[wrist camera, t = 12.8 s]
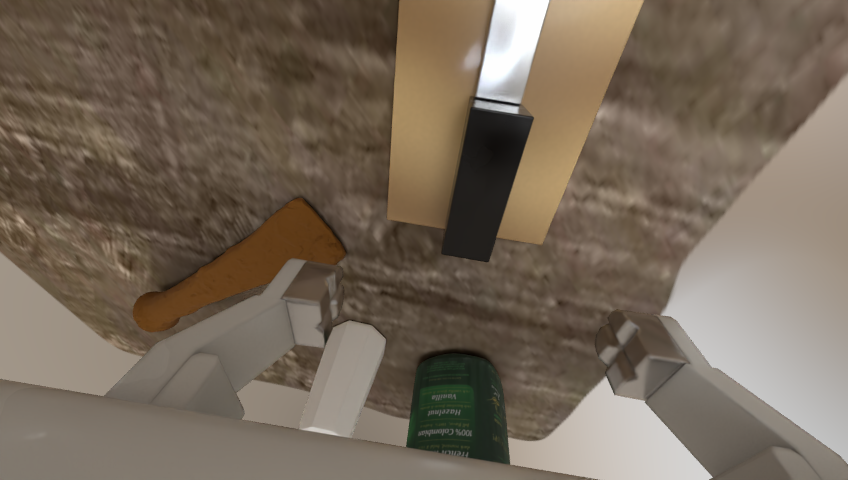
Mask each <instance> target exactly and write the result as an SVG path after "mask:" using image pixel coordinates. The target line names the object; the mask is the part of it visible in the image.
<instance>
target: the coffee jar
mask: <svg viewBox="0 0 848 480" xmlns="http://www.w3.org/2000/svg"><path fill="white" fill-rule="evenodd" d="M406 447H408V448H414V449H420V450H426V451H432V452H438V453H444V454H449V455H455V456H461V457H467V458H473V459H479V460H485V461H491V462H497V463H503V464H509V465H510V457H509V447H508V435H507V423H506V413H505V404H504V394H503V389H502V384H501V381H500V378H499V376H498V374H497V372H496V370H495V368H494V366H493V365H492V364H491V363H490V362H489V361H487V360H486V359H483V358H479V357H476V356H470V355H465V354H444V355H439V356H436V357H433V358H430V359H427V360H425V361H424V362H422V363H421V364H420V365H419V366H418V368H417V371H416V377H415V383H414V390H413V398H412V405H411V413H410V422H409V430H408V437H407V445H406Z"/></svg>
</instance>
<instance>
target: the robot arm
mask: <svg viewBox="0 0 848 480" xmlns="http://www.w3.org/2000/svg"><path fill="white" fill-rule="evenodd" d="M342 278H343V268H342V267H341V266H336V265H330V264H325V263H319V262H314V261H306V260H301V259H295V258H292V259H290V260H288V261H287V262H286V263H285V265H284V266H283V267H282V268H281V270H280V271H279V272H278V274H277V275H276V276H275V277H274V279H273V280H272V281H271V283H270V284H269V285H268V286H267V288H266V289H265V290H264V292H263V293H262V294H261V295H260V296H257V295H254V296H252V297H250V298H248V299H246V300H244V301H242V302H240V303H238V304H236V305H234V306H232V307H230V308H228V309H226V310H224V311H221V312H219V313H217V314H215V315H213V316H211V317H209V318H207V319H205V320H203V321H201V322H199V323H197V324H195V325H193V326H191V327H189V328H187V329H185V330H183V331H181V332H178V333H176V334H174V335H172V336H170V337H168V338H166V339H164V340H162V341H160V342H158V343H156V344H155V345H154V346H153V347H152V348H151V349H150V350H149V351H148V352H147V353H146V354H145V355H144V356H143V357H142V358H141V359H140V360H139V361H138V362H137V363H136V364H135V365H134V366H133V367H132V368H131V369H130V370H129V371H128V372H127V373H126V374H125V375H124V376H123V377H122V378H121V379H120V380H119V381H118V382H117V383H116V384H115V385H114V386H113V387H112V388H111V390H109V391H108V392H107V393H106V395H104V396H98V395H92V394H86V393H80V392H74V391H69V390H62V389H56V388H51V387H45V386H39V385H32V384H27V383H21V382H15V381H9V380H3V379H0V480H598V479H591V478H585V477H580V476H574V475H568V474H562V473H556V472H550V471H544V470H538V469H532V468H526V467H521V466H515V465H509V464H503V463H497V462H491V461H485V460H479V459H473V458H467V457H461V456H455V455H449V454H444V453H438V452H432V451H426V450H420V449H414V448H408V447H402V446H396V445H390V444H384V443H378V442H372V441H366V440H360V439H354V438H348V437H342V436H336V435H331V434H325V433H319V432H313V431H307V430H301V429H295V428H289V427H283V426H276V425H271V424H265V423H259V422H253V421H247V420H242V418H243V416H244V414H245V413H244V409H243V406H242V404H241V402H240V400H239V398H238V396H237V394H236V393H237V392H238V391H239V390H241V389H242V388H243V387H244V386H245V385H247V384H248V383H249V382H250V381H252V380H253V379H254V378H256V377H257V376H258V375H259V374H261V373H262V372H263V371H264V370H266V369H267V368H268V367H269V366H271V365H272V364H273V363H274V362H276V361H277V360H278V359H279V358H281V357H282V356H283V355H284V354H286V353H287V352H288V351H289V350H291V349H292V348H293V347H294V346H295V344H298V345H306V346H313V347H321V348H325V345H326V343H327V341H328V339H329V336H330V334H331V332H332V330H333V326H332V321H333V320H334V319H336V318H337V317H338V316H339V314H340V311H341V308H342V305H343V301H344V287H343V285H342V284H341V283H340V282H341V280H342ZM608 321H609V324H607V325H605V326H603V327H601V328H600V329H599V331H598V332H597V334H596V338H595V348H596V352H597V355H598V357H599V359H600V360H601V361H602V362H603V363H604V364H605V365H606V366H607V369H606V371H605V374H606V376H607V379H608V381H609V383H610V385H611V388H612V390H613V393H614V395H618V396H623V397H628V398H633V399H639V400H644V401H646V402H645V403H646V404H647V405H648V406H649V407H650V408H651V410H652V411H653V412H654V413H655V414H656V415H657V416H658V417H659V418H660V419H661V421H662V422H663V423H664V424H665V425H666V426H667V427H668V428H669V429H670V430H671V432H673V434H674V435H675V436H676V437H677V438H678V439H679V440H680V441H681V443H682V444H684V446H685V447H686V448H687V449H688V450H689V451H690V452H691V454H692V455H693V456H694V457H695V458H696V459H697V460H698V461H699V462H700V463H701V465H702V466H703V467H704V468H705V469H706V470H707V471H708V472H709V473H710V474H711V475H712V477H713V478H711V479H709V480H848V464H847V463H846V462H845V461H844V460H843V459H842V458H841V456H839V455H838V454H837V453H835V452H834V451H832V450H831V449H830V448H828V447H827V446H826V445H824V444H823V443H821V442H820V441H819V440H817V439H816V438H814V437H813V436H811V435H810V434H809V433H807V432H806V431H805V430H803V429H801V428H800V427H799V426H798V425H796V424H794V423H793V422H792V421H791V420H789V419H788V418H786V417H785V416H784V415H782V414H781V413H779V412H778V411H777V410H775V409H774V408H772V407H771V406H770V405H768V404H767V403H765V402H764V401H762V400H761V399H760V398H758V397H757V396H755V395H754V394H753V393H751V392H750V391H748V390H747V389H746V388H744V387H743V386H741V385H740V384H739V383H737V382H736V381H734V380H733V379H732V378H730V377H729V376H728V375H726V374H725V373H723V372H722V371H721V370H719V369H717V368H712V367H711V366H710V364H709V363H708V362H707V360H706V359H705V358H704V357H703V355H702V354H701V352H700V351H699V350H698V348H697V347H696V346H695V344H694V343H693V342H692V340H691V339H690V338H689V337H688V335H687V334H686V333H685V331H684V330H683V329H682V327H681V326H680V325H679V323H678V322H677V321H676V320H674V319H673V318H672V317H668V316H661V315H654V314H646V313H639V312H632V311H626V310H619V309H616V310H614V311H612V312H611V313H610V315H609V316H608Z"/></svg>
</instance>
